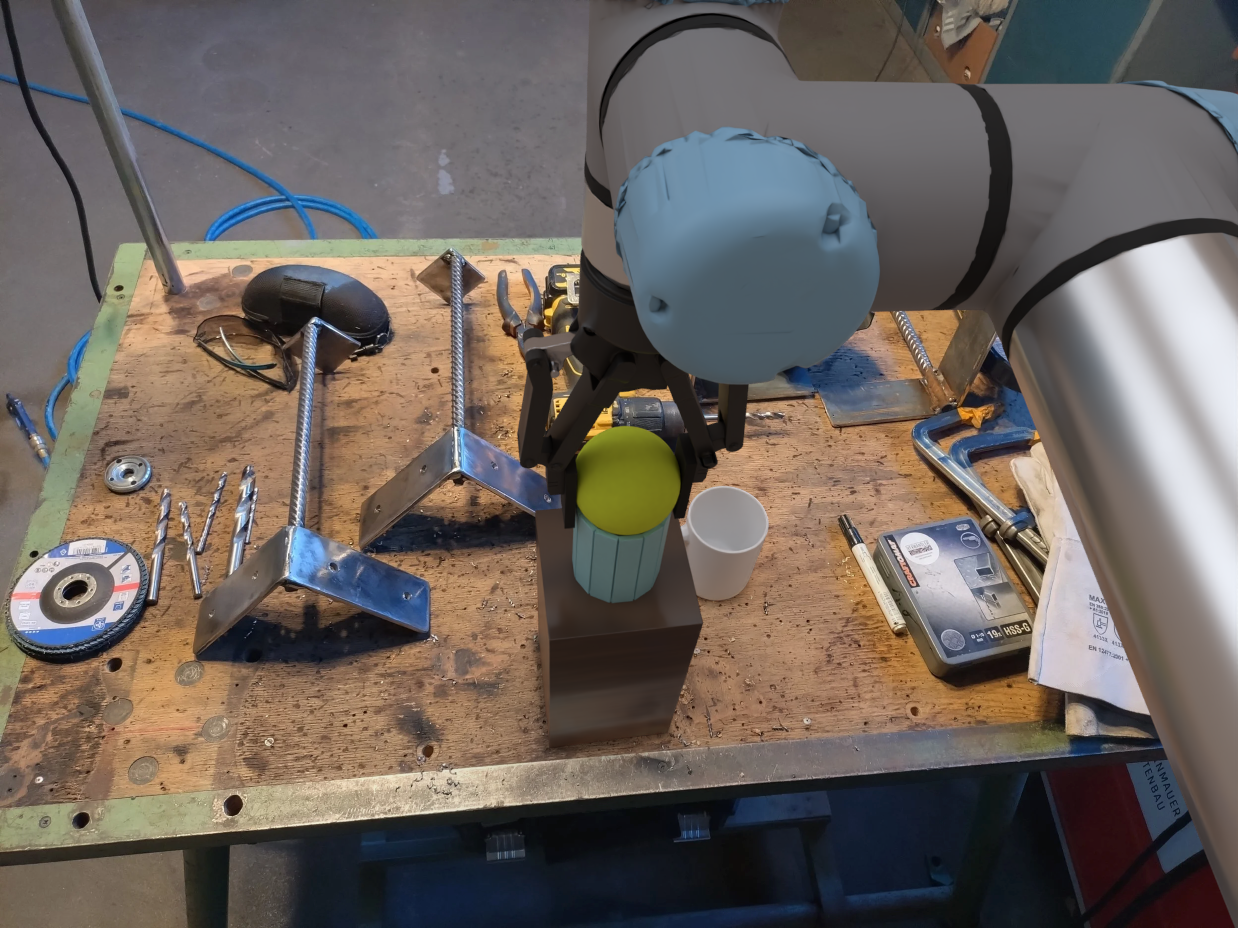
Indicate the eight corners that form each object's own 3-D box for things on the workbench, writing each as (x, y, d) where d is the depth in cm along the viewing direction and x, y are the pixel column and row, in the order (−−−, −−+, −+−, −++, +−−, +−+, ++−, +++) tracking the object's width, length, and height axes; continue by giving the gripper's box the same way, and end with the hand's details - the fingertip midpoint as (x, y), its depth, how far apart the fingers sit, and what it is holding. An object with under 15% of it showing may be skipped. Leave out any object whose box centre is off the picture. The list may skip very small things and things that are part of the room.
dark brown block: (668, 732, 81) (703, 623, 62) (549, 748, 79) (548, 640, 60) (647, 625, 88) (674, 498, 69) (538, 637, 87) (535, 510, 68)
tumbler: (665, 597, 63) (679, 535, 56) (578, 606, 62) (582, 544, 55) (650, 525, 68) (661, 458, 60) (568, 532, 67) (570, 465, 59)
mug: (640, 545, 95) (649, 492, 86) (738, 535, 96) (756, 482, 88) (654, 610, 89) (665, 560, 81) (757, 598, 91) (778, 548, 83)
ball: (682, 550, 57) (698, 487, 51) (576, 560, 56) (580, 496, 50) (663, 467, 62) (676, 400, 56) (565, 474, 61) (567, 406, 55)
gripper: (821, 202, 45) (743, 457, 63) (450, 214, 42) (480, 478, 60) (866, 291, 40) (768, 538, 58) (453, 311, 37) (485, 565, 55)
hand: (622, 507), depth 59 cm, fingers closed on ball, 7 cm apart
